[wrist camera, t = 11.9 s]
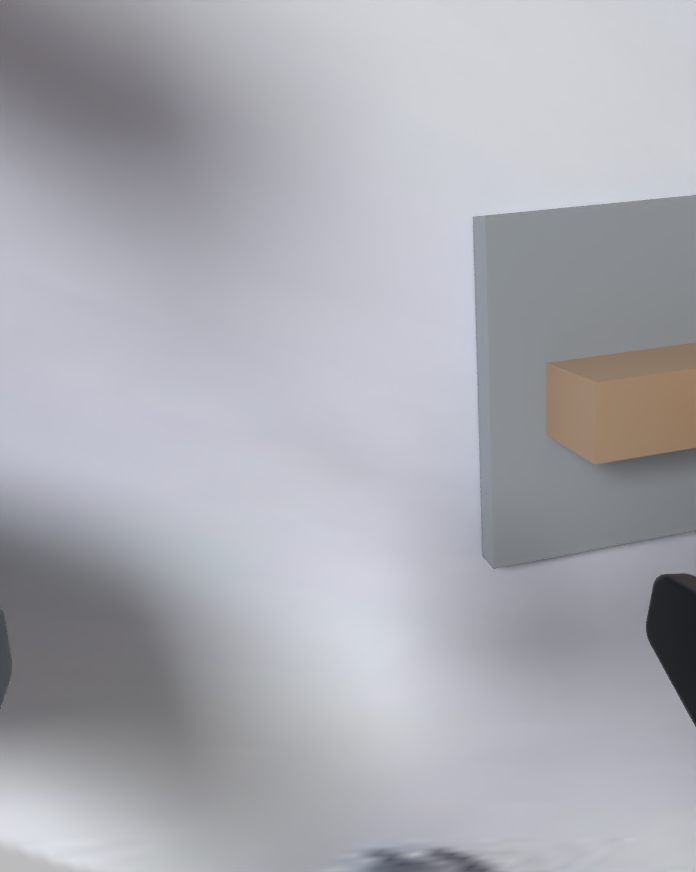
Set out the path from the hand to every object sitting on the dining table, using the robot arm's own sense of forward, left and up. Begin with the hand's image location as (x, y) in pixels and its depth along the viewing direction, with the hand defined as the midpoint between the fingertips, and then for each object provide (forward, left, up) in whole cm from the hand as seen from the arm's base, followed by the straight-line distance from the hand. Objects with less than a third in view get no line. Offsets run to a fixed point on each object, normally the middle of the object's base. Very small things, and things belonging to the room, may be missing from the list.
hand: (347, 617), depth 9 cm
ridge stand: (+12, -9, -13) cm, 20 cm away
